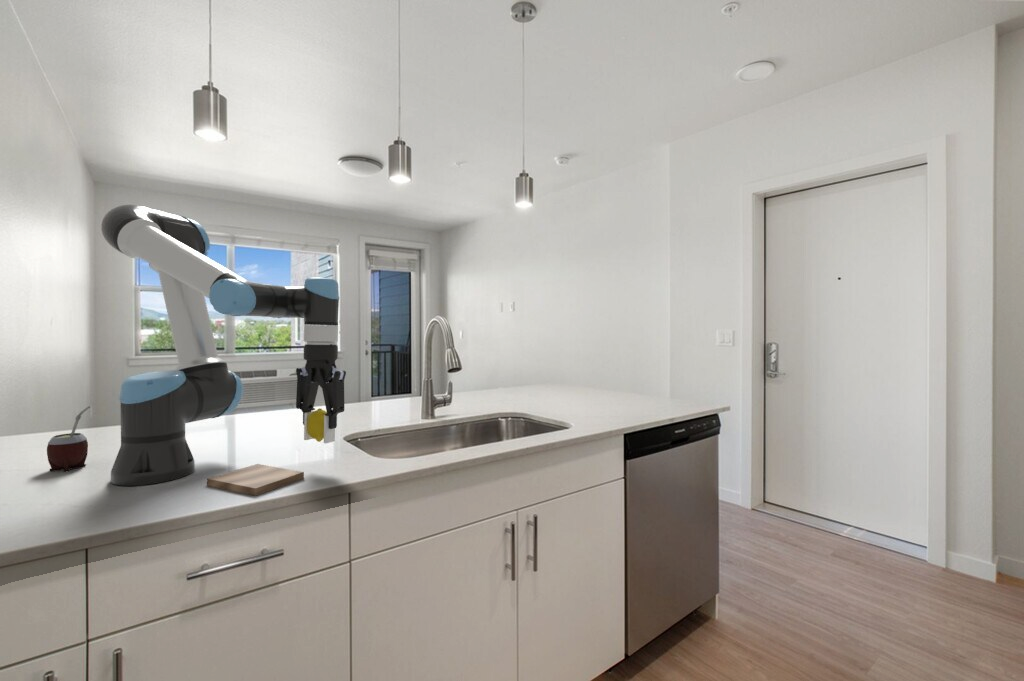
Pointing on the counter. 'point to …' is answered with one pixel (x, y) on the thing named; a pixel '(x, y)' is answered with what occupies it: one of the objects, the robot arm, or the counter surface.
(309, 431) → the lemon
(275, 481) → the walnut board
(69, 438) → the mate gourd
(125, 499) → the counter surface
